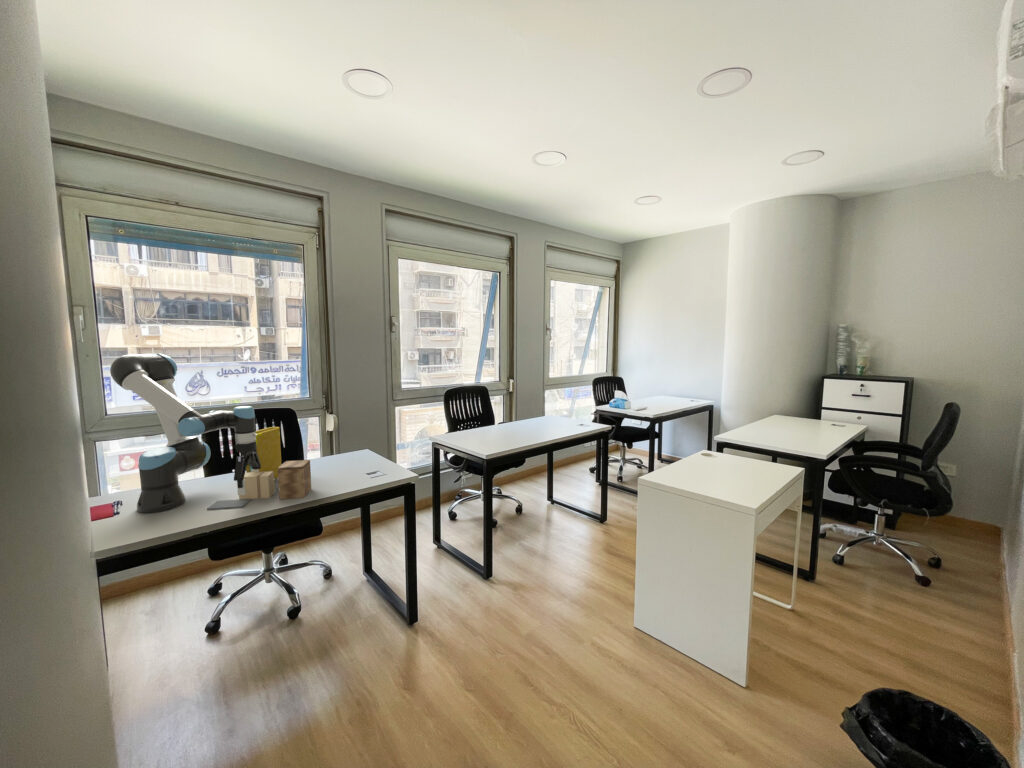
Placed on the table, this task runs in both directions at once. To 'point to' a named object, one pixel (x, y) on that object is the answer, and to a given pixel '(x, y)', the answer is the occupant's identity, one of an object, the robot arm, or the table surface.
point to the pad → (229, 504)
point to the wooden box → (294, 479)
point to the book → (268, 450)
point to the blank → (258, 485)
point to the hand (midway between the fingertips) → (249, 488)
